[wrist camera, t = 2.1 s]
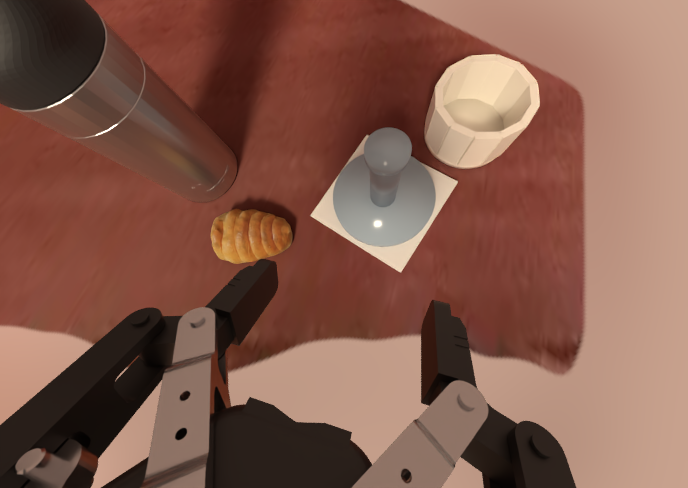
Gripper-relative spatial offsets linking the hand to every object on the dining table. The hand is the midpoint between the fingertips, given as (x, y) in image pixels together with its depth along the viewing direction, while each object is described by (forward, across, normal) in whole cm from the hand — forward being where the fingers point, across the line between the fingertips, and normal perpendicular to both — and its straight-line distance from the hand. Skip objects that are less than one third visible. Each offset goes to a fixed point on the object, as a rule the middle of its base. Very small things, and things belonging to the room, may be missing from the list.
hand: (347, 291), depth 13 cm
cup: (+28, -8, -4) cm, 29 cm away
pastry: (+15, +15, +9) cm, 23 cm away
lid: (+20, 0, +3) cm, 20 cm away
